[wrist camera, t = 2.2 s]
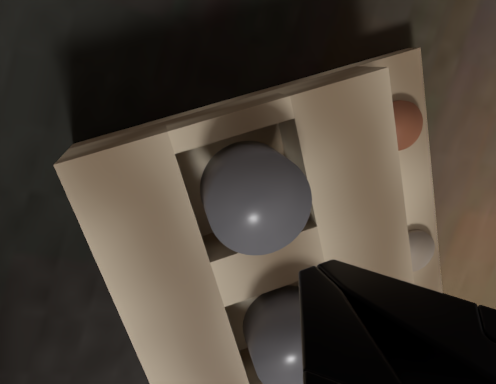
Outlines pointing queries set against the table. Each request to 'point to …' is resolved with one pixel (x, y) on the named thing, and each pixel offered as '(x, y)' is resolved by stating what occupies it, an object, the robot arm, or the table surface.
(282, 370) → the button middle
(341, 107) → the button board
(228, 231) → the button
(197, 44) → the table surface
